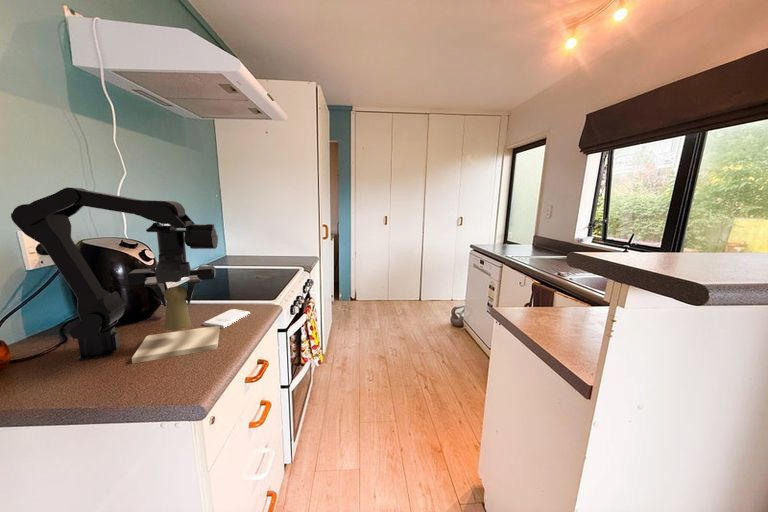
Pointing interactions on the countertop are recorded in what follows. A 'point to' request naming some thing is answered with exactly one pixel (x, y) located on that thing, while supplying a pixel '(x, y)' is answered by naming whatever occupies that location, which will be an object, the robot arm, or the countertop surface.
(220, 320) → the external hard drive
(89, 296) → the robot arm
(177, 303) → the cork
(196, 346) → the birch board
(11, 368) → the countertop surface
